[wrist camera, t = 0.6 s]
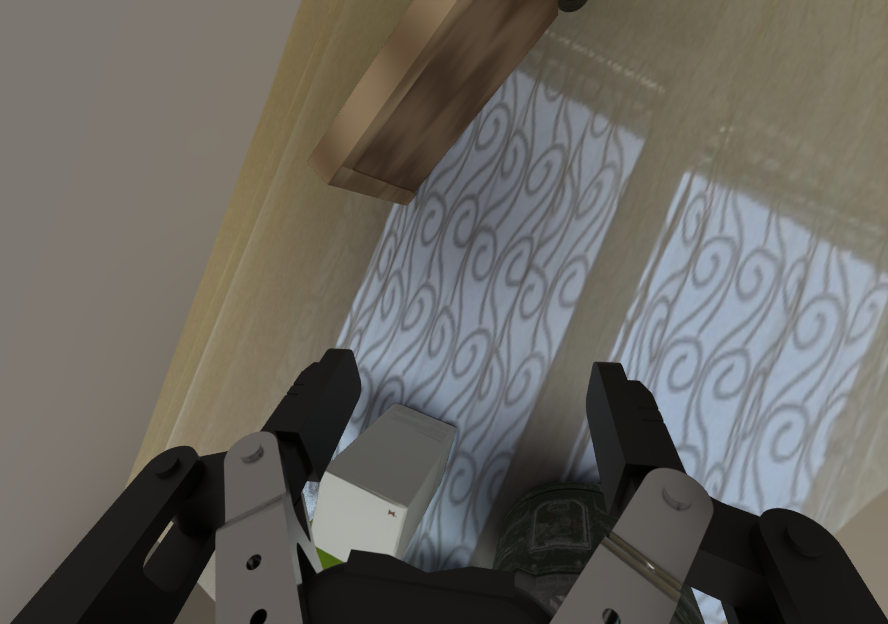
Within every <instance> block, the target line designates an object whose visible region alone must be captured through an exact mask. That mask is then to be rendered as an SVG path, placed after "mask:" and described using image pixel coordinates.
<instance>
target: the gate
mask: <svg viewBox="0 0 888 624" xmlns="http://www.w3.org/2000/svg"><path fill="white" fill-rule="evenodd" d="M557 16H558V0H413V2H412V3H411V5H410V6H409V8H408V9H407V11H406V12H405V14H404V15H403V17H402V18H401V20H400V21H399V23H398V24H397V26H396V27H395V29H394V30H393V32H392V33H391V35H390V37H389V38H388V40H387V41H386V43H385V44H384V46H383V47H382V49H381V50H380V52H379V53H378V55H377V56H376V58H375V59H374V61H373V62H372V64H371V65H370V67H369V68H368V70H367V71H366V73H365V74H364V76H363V77H362V79H361V80H360V82H359V83H358V85H357V86H356V88H355V89H354V91H353V92H352V94H351V95H350V97H349V98H348V100H347V101H346V103H345V104H344V106H343V107H342V109H341V110H340V112H339V114H338V115H337V117H336V118H335V120H334V121H333V123H332V124H331V126H330V127H329V129H328V130H327V132H326V133H325V135H324V136H323V138H322V139H321V141H320V142H319V144H318V145H317V147H316V148H315V150H314V151H313V153H312V154H311V156H310V157H309V159H308V160H307V163H308V164H309V165H310V166H311V167H312V168H313V170H314V171H315V172H316V173H317V174H318V175H319V176H320V177H321V178H322V179H323V180H324V181H325V182H326V183H327V184H328V185H332V186H335V187H339V188H343V189H346V190H350V191H354V192H358V193H361V194H365V195H369V196H372V197H376V198H380V199H383V200H387V201H391V202H394V203H398V204H402V205H405V206H407V205H408V204H409V203H410V202H411V200H412V199H413V198H414V197H415V195H416V193H415V191H416V190H417V188H418V187H419V186H420V185H421V183H422V182H423V181H424V180H425V178H426V177H427V176H428V175H429V174H430V172H431V171H432V170H433V169H434V167H435V166H436V165H437V164H438V162H439V161H440V160H441V159H442V157H443V156H444V155H445V154H446V153H447V151H448V150H449V149H450V148H451V146H452V145H453V144H454V143H455V141H456V140H457V139H458V138H459V136H460V135H461V134H462V133H463V132H464V130H465V129H466V128H467V127H468V125H469V124H470V123H471V122H472V120H473V119H474V118H475V117H476V116H477V114H478V113H479V112H480V111H481V109H482V108H483V107H484V106H485V104H486V103H487V102H488V101H489V99H490V98H491V97H492V96H493V95H494V93H495V92H496V91H497V90H498V88H499V87H500V86H501V85H502V83H503V82H504V81H505V80H506V79H507V77H508V76H509V75H510V74H511V72H512V71H513V70H514V69H515V67H516V66H517V65H518V64H519V62H520V61H521V60H522V59H523V58H524V56H525V55H526V54H527V53H528V51H529V50H530V49H531V48H532V46H533V45H534V44H535V43H536V41H537V40H538V39H539V38H540V37H541V35H542V34H543V33H544V32H545V30H546V29H547V28H548V27H549V25H550V24H551V23H552V22H553V21H554V19H555V18H556V17H557Z"/></svg>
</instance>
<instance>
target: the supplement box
mask: <svg viewBox="0 0 888 624" xmlns="http://www.w3.org/2000/svg"><path fill="white" fill-rule="evenodd" d="M455 432H456V428H455V427H453V426H451V425H449V424H446V423H444V422H442V421H439V420H437V419H434V418H432V417H430V416H427V415H425V414H423V413H420V412H418V411H415V410H413V409H410V408H408V407H405V406H403V405H400V404H397V403H394V404H393V405H392V406H391V407H389V408H388V409H387V410H386V411H385V412H384V413H383V414H382V415H381V416H380V417H379V418H378V419H377V420H376V421H374V422H373V423H372V424H371V425H370V426H369V427H368V428H367V429H366V430H365V431H364V432H363V433H362V434H361V435H360V436H358V437H357V438H356V439H355V440H354V441H353V442H352V443H351V444H350V445H349V446H348V447H347V448H346V449H344V450H343V451H342V452H341V453H340V454H339V455H338V456H337V457H336V458H335V459H334V460H333V461H332V462H330V463H329V465H328V467H327V469H326V471H325V473H324V475H323V477H322V480H321V482H320V485H319V490H318V495H317V501H316V506H315V511H314V516H313V522H312V527H311V530H312V534H313V539H314V543H315V546H316V547H318V548H319V549H321V550H323V551H325V552H327V553H329V554H330V555H332V556H334V557H336V558H338V559H339V560H341V561H343V562H347V560H348V557H349V554H350V551H351V549H355V550H362V551H369V552H375V553H382V554H389V555H391V556H393V557H395V558H397V559H399V560H401V558H402V556H403V554H404V552H405V550H406V549H407V547H408V545H409V543H410V541H411V539H412V537H413V535H414V533H415V531H416V529H417V527H418V525H419V523H420V521H421V520H422V518H423V516H424V514H425V512H426V510H427V508H428V506H429V504H430V502H431V500H432V498H433V497H434V495H435V493H436V491H437V489H438V487H439V485H440V483H441V480H442V477H443V474H444V470H445V467H446V464H447V460H448V457H449V453H450V450H451V446H452V443H453V439H454V436H455Z"/></svg>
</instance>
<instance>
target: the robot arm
mask: <svg viewBox="0 0 888 624" xmlns="http://www.w3.org/2000/svg"><path fill="white" fill-rule="evenodd" d="M293 384H294V385H293V386H291V388H290V389H289V391H288V392H287V395H285V396H284V398H283V399H282V401H281V402H280V404H279V405H278V406H277V408H276V409H275V411H274V412H273V414H272V415H271V417H270V418H269V419H268V421H267V422H266V424H265V425H264V427H263V428H262V429H261V431H260V432H255V433H252V434H249V435H247V436H245V437H243V438H242V439H240V440H239V441H237V442H236V443H235V444H234V445H233V446H232V447H231V448H230V449H229V451H226V452H221V453H216V454H211V455H206V456H201V457H199V455H198V454H197V452H196V451H195V450H194V449H193V448H192V447H189V446H178V447H174V448H171V449H169V450H166V451H164V452H163V453H161V454H159V455H158V456H156V457H155V458H154V459H152V460H151V461H150V462H149V463H148V464H147V465H146V466H145V467H144V468H143V470H142V471H141V472H140V473H139V474H138V475H137V477H136V478H135V479H134V480H133V481H132V482H131V484H130V485H129V486H128V487H127V488H126V489H125V491H124V492H123V493H122V494H121V495H120V497H119V498H118V499H117V500H116V501H115V502H114V503H113V505H112V506H111V507H110V508H109V509H108V510H107V511H106V513H105V514H104V515H103V516H102V517H101V518H100V520H99V521H98V522H97V523H96V524H95V525H94V527H93V528H92V529H91V530H90V531H89V532H88V534H87V535H86V536H85V537H84V538H83V539H82V541H81V542H80V543H79V544H78V545H77V547H76V548H75V549H74V550H73V551H72V552H71V553H70V555H69V556H68V557H67V558H66V559H65V560H64V561H63V563H62V564H61V565H60V566H59V567H58V568H57V570H56V571H55V572H54V573H53V574H52V575H51V577H50V578H49V579H48V580H47V581H46V582H45V584H44V585H43V586H42V587H41V588H40V590H39V591H38V592H37V593H36V594H35V595H34V596H33V598H32V599H31V600H30V601H29V602H28V603H27V605H26V606H25V607H24V608H23V609H22V611H21V612H20V613H19V614H18V615H17V616H16V617H15V619H14V620H13V621H12V622H11V623H10V624H173V623H174V622H175V620H176V618H177V616H178V614H179V613H180V611H181V609H182V607H183V606H184V604H185V602H186V600H187V598H188V597H189V595H190V593H191V591H192V590H193V588H194V586H195V584H196V583H197V581H198V579H199V577H200V575H201V574H202V572H203V570H204V568H205V567H206V565H207V563H208V561H209V560H210V558H211V556H212V554H213V552H214V551H215V549H216V624H669V623H670V620H671V618H672V616H673V613H674V611H675V609H676V606H677V604H678V601H679V599H680V596H681V588H682V585H683V583H684V584H686V585H688V586H690V587H692V588H694V589H697V590H699V591H701V592H703V593H705V594H707V595H709V596H712V597H714V598H716V599H718V600H720V601H721V604H722V607H723V610H724V613H725V616H726V619H727V622H728V624H888V620H887V618H886V616H885V615H884V613H883V612H882V610H881V608H880V607H879V605H878V604H877V602H876V601H875V599H874V597H873V596H872V594H871V592H870V591H869V589H868V588H867V586H866V584H865V583H864V581H863V580H862V578H861V576H860V575H859V573H858V572H857V570H856V568H855V567H854V565H853V564H852V562H851V560H850V559H849V557H848V556H847V554H846V553H845V551H844V549H843V548H842V547H841V545H840V544H839V542H838V541H837V540H836V539H835V538H834V537H833V536H832V535H831V534H830V533H829V532H828V531H827V530H826V529H825V528H823V527H822V526H821V525H820V524H818V523H817V522H815V521H814V520H812V519H810V518H808V517H806V516H805V515H802V514H800V513H798V512H795V511H792V510H788V509H782V508H773V509H769V510H767V511H765V512H763V514H762V515H761V516H757V515H754V514H751V513H749V512H746V511H743V510H740V509H738V508H735V507H732V506H729V505H727V504H724V503H722V502H720V501H718V500H716V499H714V498H712V497H710V496H709V495H708V493H707V491H706V490H705V489H704V488H703V487H702V486H701V485H700V484H699V483H698V482H697V481H696V480H695V479H693V478H692V477H690V476H689V475H687V473H686V471H685V469H684V467H683V465H682V462H681V460H680V458H679V455H678V453H677V451H676V448H675V446H674V444H673V441H672V439H671V437H670V434H669V432H668V430H667V427H666V425H665V424H664V422H663V421H664V420H663V418H662V416H661V413H660V411H658V406H657V404H656V401H655V399H654V397H653V394H652V393H651V392H650V391H649V390H648V389H647V388H646V387H645V386H644V385H643V384H642V383H641V382H640V381H636V380H627V377H626V374H625V372H624V369H623V366H622V364H621V363H613V362H594V363H593V366H592V371H591V376H590V381H589V386H588V391H587V397H586V413H587V419H588V424H589V428H590V433H591V438H592V442H593V447H594V452H595V457H596V461H597V466H598V471H599V476H600V480H601V485H602V490H603V494H604V499H605V504H606V509H607V513H608V517H617V518H620V519H619V520H618V522H617V524H616V525H615V527H614V528H613V530H612V531H611V533H610V534H609V535H606V536H605V537H604V539H603V540H602V541H601V543H600V544H599V546H598V547H597V549H596V551H595V552H594V554H593V555H592V557H591V559H590V560H589V562H588V563H587V565H586V567H585V568H584V570H583V571H582V573H581V574H580V576H579V578H578V579H577V581H576V582H575V584H574V586H573V587H572V589H571V590H570V592H569V594H568V595H567V597H566V598H565V600H564V601H563V603H562V605H561V606H560V608H559V609H558V611H557V613H556V614H555V615H554V614H553V613H552V612H551V611H550V610H549V609H548V608H547V607H546V606H545V605H544V604H543V603H542V602H541V601H539V600H538V599H537V598H536V597H534V596H533V595H531V594H530V593H528V592H527V591H525V590H523V589H521V588H519V587H517V586H515V573H514V572H507V571H500V570H493V569H486V568H479V567H473V566H472V567H465V568H459V569H452V570H446V571H439V572H432V573H428V572H424V571H422V570H420V569H418V568H416V567H414V566H412V565H410V564H408V563H406V562H404V561H401V560H399V559H397V558H395V557H393V556H391V555H389V554H382V553H375V552H369V551H362V550H355V549H351V551H350V554H349V557H348V560H347V562H343V563H340V564H336V565H333V566H331V567H329V568H326V569H324V570H323V568H322V565H321V562H320V560H319V557H318V554H317V551H316V547H315V543H314V539H313V534H312V530H311V525H310V521H309V516H308V511H307V507H306V502H305V498H304V494H303V492H302V490H303V488H304V486H305V484H306V482H307V481H312V482H321V480H322V477H323V475H324V473H325V471H326V469H327V467H328V465H329V462H330V460H331V458H332V456H333V454H334V452H335V450H336V447H337V445H338V443H339V441H340V439H341V437H342V434H343V432H344V430H345V428H346V426H347V424H348V422H349V419H350V417H351V415H352V413H353V411H354V409H355V407H356V404H357V402H358V400H359V398H360V394H361V380H360V376H359V372H358V368H357V364H356V361H355V357H354V353H353V351H352V350H350V349H332V348H331V349H328V350H327V351H326V353H325V354H324V356H323V357H322V359H321V360H320V362H314V363H312V364H311V365H310V366H309V367H307V368H306V369H305V370H303V371H302V372H301V373H300V375H299V376H298V378H297V379H296V381H295V382H294V383H293ZM170 521H172V522H173V523H174V524H173V525H172V527H171V528H170V530H169V531H168V533H167V534H166V536H165V537H164V538H163V540H162V541H161V543H160V544H159V546H158V547H157V549H156V550H155V552H154V553H153V554H152V556H151V557H150V559H149V560H148V562H147V563H146V565H145V566H144V568H143V565H144V561H145V558H146V556H147V554H148V553H149V551H150V550H151V548H152V547H153V545H154V544H155V543H156V541H157V540H158V538H159V537H160V535H161V534H162V533H163V531H164V530H165V528H166V527H167V525H168V524H169V523H170Z"/></svg>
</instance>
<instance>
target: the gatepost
mask: <svg viewBox="0 0 888 624" xmlns="http://www.w3.org/2000/svg"><path fill="white" fill-rule="evenodd" d="M586 2H587V0H558V8H559V9H561V10H562V11H564V12H573V11H576V10H578V9H580V8H581V7H582V6H583V5H584V4H585V3H586Z"/></svg>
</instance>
